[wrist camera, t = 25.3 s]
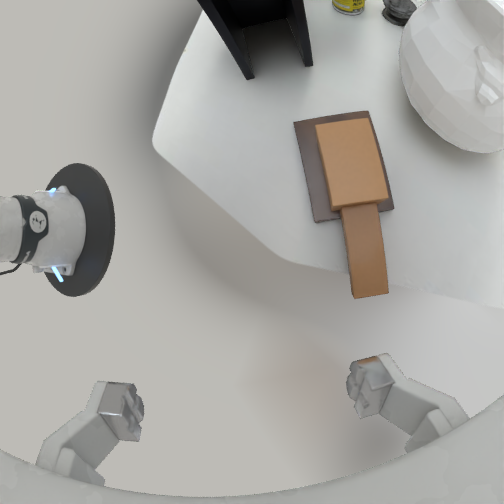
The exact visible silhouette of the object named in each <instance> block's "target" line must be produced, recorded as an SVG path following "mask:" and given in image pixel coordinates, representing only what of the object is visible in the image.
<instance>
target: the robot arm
mask: <svg viewBox="0 0 504 504" xmlns="http://www.w3.org/2000/svg"><path fill="white" fill-rule="evenodd" d="M55 190H56V188H52V189H51V190H50V191H42V190H39V191H38V190H37V191H35V193H33V194H32V195H31V197H30V196H24V195H18V196H17V195H15V196H12V197H2V196H0V262H7V261H10V262H11V263H16V264H18V265H17V266H16V267H15V268H14V269H13V270H8V271H5V272H1V273H0V275H3V274H6V273H11V272H14V271H15V270H17V269H18V268H19V266H20V265H21V264H22V263H26V264H29V265H33V272H34V273H37V272H42V271H44V272H49V273H55V274H56V276H57V278H58V279H59V281H60V282H63V279H62V277H61V276H60V274H61V275H67V276H72V275H73V273H74V270H75V265H76V261H77V259H78V258H79V256H80V254H81V252H82V249H83V246H84V242H85V236H86V219H85V213H84V210H83V207H82V205H81V203H80V201H79V200H78V199H77V198H76V197H75V196H73V195H72V194H71V193H70V192H69V190H68V188H67V187H66V186H60V187H59V188H58V189H57V190H56V191H55ZM350 371H351V373H350V375H349V376H348V377H347V381H346V386H347V392H348V395H349V397H350V398H351V399H353V400H354V401H356V402H355V405H354V407H355V409H356V411H357V413H358V416H359V418H360V419H361V418H365V417H368V416H372V415H375V414H378V413H379V414H380V415H381V416H382V417H384V418H385V419H387V420H389V421H390V422H391V423H393V424H394V425H396V426H397V427H399V428H400V429H402V430H403V431H405V432H406V433H408V434H409V435H411V438H410V439H409V441H408V442H407V443H406V445H405V450H406V452H407V454H404V455H402V456H400V457H398V458H395V459H393V460H390V461H388V462H386V463H383V464H380V465H378V466H375V467H372V468H369V469H367V470H364V471H361V472H358V473H355V474H351V475H348V476H345V477H341V478H338V479H334V480H331V481H327V482H323V483H319V484H314V485H310V486H305V487H300V488H295V489H290V490H284V491H277V492H270V493H263V494H254V495H243V496H226V497H183V496H165V495H156V494H146V493H138V492H132V491H126V490H120V489H115V488H110V487H105V486H104V482H105V479H104V478H103V477H102V476H101V475H100V474H99V473H98V472H96V471H95V469H96V468H97V467H98V465H99V464H100V463H101V462H102V461H103V460H104V459H105V457H106V456H107V455H108V454H109V453H110V452H111V451H112V449H113V448H114V447H115V446H116V445H117V444H118V443H119V440H124V441H136V442H139V440H140V434H141V427H140V425H139V422H141V421H142V420H143V417H144V405H143V401H142V399H141V397H139V396H138V395H137V394H136V391H137V389H136V387H135V385H134V384H131V383H118V382H104V381H97V382H96V383H95V385H94V387H93V390H92V393H91V396H90V398H89V400H88V403H87V406H86V409H85V411H81V412H80V413H78V414H77V415H76V416H75V417H73V418H72V419H71V420H69V421H68V422H67V423H66V424H64V425H63V426H62V427H61V428H59V429H58V430H57V431H55V432H54V433H53V434H52V435H50V436H49V437H48V438H46V439H45V440H44V442H43V444H42V447H41V450H40V453H39V455H38V458H37V461H36V465H34V464H31V463H29V462H26V461H24V460H22V459H20V458H17V457H15V456H13V455H11V454H9V453H7V452H4V451H3V450H1V449H0V504H504V395H503V396H501V397H500V398H499V399H497V400H496V401H495V402H493V403H492V404H491V405H489V406H488V407H487V408H485V409H484V410H482V411H481V412H479V413H478V414H476V415H475V416H474V417H472V418H471V419H470V418H469V417H468V415H467V414H466V413H465V411H464V410H463V408H462V407H461V406H460V404H459V403H458V402H457V400H456V399H455V398H453V397H451V396H449V395H446V394H444V393H442V392H440V391H437V390H435V389H433V388H430V387H428V386H426V385H424V384H421V383H419V382H417V381H415V380H413V379H410V378H409V379H406V377H405V376H404V374H403V373H402V372H401V370H400V369H399V367H398V366H397V365H396V363H395V362H394V360H393V359H392V358H391V356H390V355H389V354H388V353H384V354H381V355H377V356H373V357H369V358H365V359H361V360H357V361H354V362H352V363H351V365H350Z"/></svg>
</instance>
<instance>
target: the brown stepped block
mask: <svg viewBox="0 0 504 504" xmlns="http://www.w3.org/2000/svg"><path fill="white" fill-rule="evenodd" d="M315 129H316V138H317V144H318V148H319V152H320V157H321V161H322V166H323V170H324V175H325V180H326V185H327V190H328V195H329V200H330V206H331V211H336V210H340V214H341V220H342V226H343V232H344V238H345V245H346V252H347V259H348V266H349V274H350V282H351V291H352V295H353V297H354V298H355V299H356V298H363V297H369V296H376V295H381V294H387V293H389V292H388V280H387V270H386V261H385V253H384V245H383V238H382V232H381V226H380V220H379V214H378V208H377V204H380V203H381V202H383V201H385V200H386V199H388V198H389V197H388V192H387V187H386V182H385V178H384V174H383V169H382V165H381V161H380V157H379V153H378V150H377V146H376V142H375V139H374V135H373V132H372V129H371V125H370V122H369V119H368V118H362V119H354V120H346V121H339V122H332V123H325V124H319V125H315Z"/></svg>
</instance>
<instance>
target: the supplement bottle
mask: <svg viewBox="0 0 504 504" xmlns="http://www.w3.org/2000/svg"><path fill="white" fill-rule="evenodd" d="M364 2H365V0H332V3H333V7H334V8H335V9H336V10H337V11H339V12H341V13H344V14H349V15H356V14H359V13H361V12H362V11H363V10H364Z"/></svg>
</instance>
